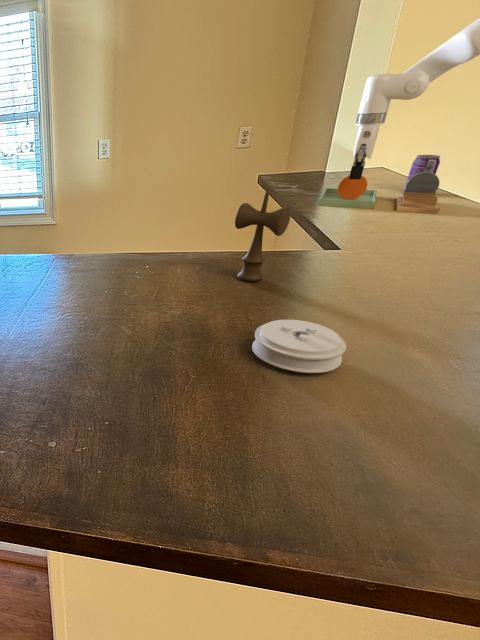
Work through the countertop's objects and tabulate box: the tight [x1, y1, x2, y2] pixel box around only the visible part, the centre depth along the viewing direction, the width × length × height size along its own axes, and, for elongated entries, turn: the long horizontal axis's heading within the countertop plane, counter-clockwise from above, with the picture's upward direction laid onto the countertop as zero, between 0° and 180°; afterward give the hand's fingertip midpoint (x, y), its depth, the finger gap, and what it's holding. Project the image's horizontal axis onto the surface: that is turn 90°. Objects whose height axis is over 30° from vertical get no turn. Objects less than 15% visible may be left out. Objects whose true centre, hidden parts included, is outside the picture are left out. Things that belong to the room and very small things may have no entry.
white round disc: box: [251, 319, 347, 374], centre depth 77 cm, size 13×13×5 cm
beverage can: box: [403, 154, 441, 192], centre depth 163 cm, size 7×7×12 cm
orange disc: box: [337, 174, 368, 199], centre depth 160 cm, size 1×8×8 cm, turn 55°
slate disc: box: [405, 172, 440, 193], centre depth 151 cm, size 1×8×8 cm, turn 55°
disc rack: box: [395, 191, 440, 214], centre depth 150 cm, size 16×10×4 cm, turn 145°
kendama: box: [234, 187, 292, 282], centre depth 103 cm, size 6×10×20 cm, turn 43°
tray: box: [317, 187, 378, 209], centre depth 162 cm, size 19×15×2 cm
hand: (355, 176), depth 159 cm, fingers open, 9 cm apart
